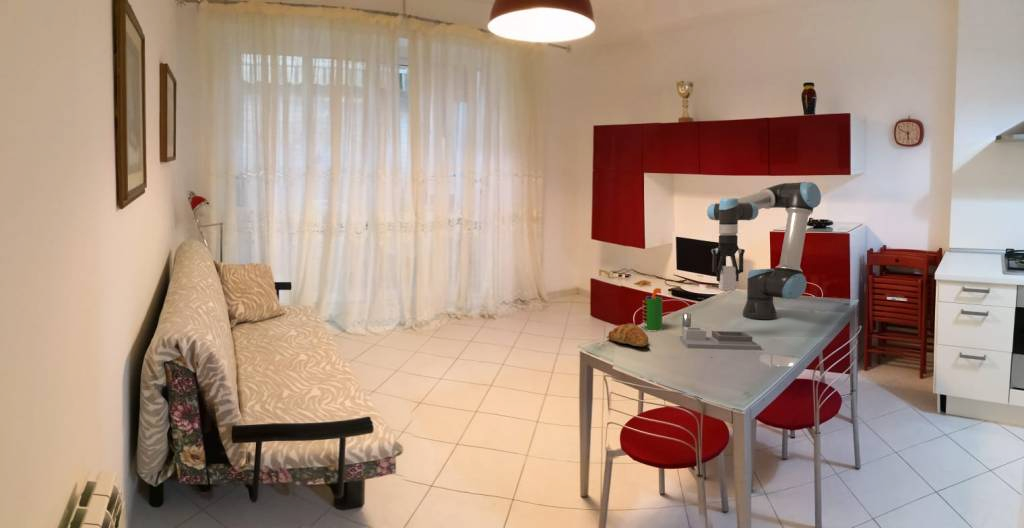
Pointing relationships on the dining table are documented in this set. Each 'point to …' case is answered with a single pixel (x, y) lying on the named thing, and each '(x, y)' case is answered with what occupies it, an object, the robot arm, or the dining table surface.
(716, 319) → the dining table surface
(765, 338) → the dining table surface
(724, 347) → the stand
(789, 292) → the robot arm
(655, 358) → the dining table surface
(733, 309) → the dining table surface
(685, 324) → the rounded metal cylinder
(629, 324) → the pastry
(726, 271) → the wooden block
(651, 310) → the motor
